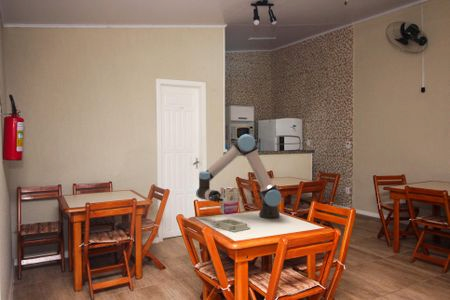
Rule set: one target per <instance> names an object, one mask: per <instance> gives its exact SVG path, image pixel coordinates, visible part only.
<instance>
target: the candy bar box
mask: <svg viewBox="0 0 450 300" xmlns="http://www.w3.org/2000/svg"><path fill="white" fill-rule="evenodd" d="M219 193H220V194H221V197H223V198H227V203H225V202H220V201H219V203H220V214H223V215H228V214H235V213H236V214H237V213H239V201H238V196H239V187H237V186H229V187H220V191H219Z"/></svg>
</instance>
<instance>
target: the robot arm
mask: <svg viewBox="0 0 450 300" xmlns="http://www.w3.org/2000/svg"><path fill="white" fill-rule="evenodd" d="M258 152H259V147H258V145H257V144H256V140H255V137H254V136H252V135H251V134H248V133H245V134H242V135H241V136H239V138H238V139H237V140H236V142H234V143H233V144H232V147H231V148H230V149H229V150H227V152H225V153H224V154H222V156H221V157H220V158H219V159H217V160H216V161H215V162H214V163H213V164H212V165H211V166H210V167H208V168H207V170H205V171H200V172H199V173H198V182H199V183H198V184H199V185H198V188H197V190H196V191H195V195H196V197H197V198H198V199H201V200H205V201H209V202H214V203H216V202H217V203H220V202H225V203H227V198H223V197H221V192H220V191H218V190H214V189H210V185H211V183H210V182H211V181H212V180H213V179H214V178H215V177H216V176H217V175H219V174H220V172H222V171H223V170H224V169H225V168H226V167H227V166H228V165H230V164H231V163H232V162H233V161H235V159H237V157H239V155H240V156H243V157H245V158H246V160H247V161H248V165H249V166H250V167H251V170H252V171H253V174H254V176H255V178H256V180H257V183H258V185H259V187H260V189H259V190H260V191H259V192H260V194H261V208H260V211H259V213H258V215H259V218H263V219H279V218H280V217H281V216H280V215H281V213H280V210H279V207H278V205H279V204H280V203H281V202H282V194H281V192H280V191H279V186H277V185H276V183H273V182H272V180H271V178H270V176H269V173H268V172H267V170H266V168H265V167H266V166H265V165H264V163H263V161H262V158H261V157H260V155H259V153H258ZM238 202H242V196H240V195H238Z"/></svg>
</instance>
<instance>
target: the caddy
mask: <svg viewBox="0 0 450 300" xmlns="http://www.w3.org/2000/svg"><path fill="white" fill-rule="evenodd" d="M212 227H214V228H217V229H220V230H224V231H228V232H231V233H238V232H241V231H242V232H243V231H248V230H251V227H250V226H248V223H247V222H243V221H239V220H235V219H231V218H227V219H226V218H225V219H219V220H216V221H215V224H212Z"/></svg>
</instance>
